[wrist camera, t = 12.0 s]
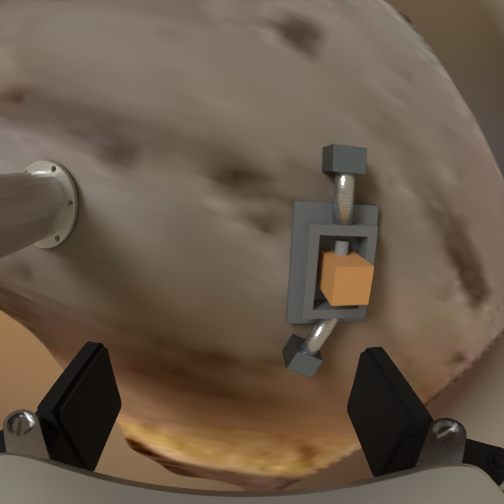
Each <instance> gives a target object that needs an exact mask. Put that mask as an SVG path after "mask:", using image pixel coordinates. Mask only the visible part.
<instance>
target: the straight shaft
mask: <svg viewBox="0 0 504 504" xmlns="http://www.w3.org/2000/svg"><path fill="white" fill-rule="evenodd" d="M366 161H367V148H362V147H354V146H345V145H336V144H333V145H329V146H326V147H323V163H322V171H326V172H335V186H334V204H333V219H332V223H333V224H337V225H345V226H350V225H352V222H353V209H354V194H355V175H356V174H366Z"/></svg>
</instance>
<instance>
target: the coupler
mask: <svg viewBox="0 0 504 504" xmlns="http://www.w3.org/2000/svg"><path fill="white" fill-rule="evenodd" d="M348 246H349V241H347V240H342V239H337V240H336V242H335V250H319V261H318V272H317V285H318V286H319V288H320V289H321V291H322V292H323V294H324V295H325V297H326V299H327V300H328V302H329V303H330V305H331V306H343V305H368V303H369V297H370V291H371V285H372V278H373V271H374V266H373V265H371V264H370V263H369V262H367V261H366V260H365V259H364V258H362V257H361V256H360V255H358V254H357V253H356V252H354V251H353V250H348Z"/></svg>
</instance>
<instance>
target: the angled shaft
mask: <svg viewBox="0 0 504 504" xmlns="http://www.w3.org/2000/svg"><path fill="white" fill-rule="evenodd" d="M339 320H340V318H330V319H318V321H317V322H316V324H315V325H314V327H313V328H312V330H311V332H310V333H309V335H308V336H307V338H306V339H303V338H301V337H298V336H296V335H292V336H291V338H290V339H289V341H288V343H287V344H286V346H285V347H284V349H283V350H282V351H283V356H284V360H285V365H286V369H288V370H291V371H294V372H297V373H300V374H303V375H306V376H309V377H312V376H313V375H314V373H315V372H316V371H317V369H318V368H319V367H320V365H321V364H322V362H323V359H322V356H321V354H320V351H319V350H320V349H321V347H322V346H323V344H324V343H325V341H326V340H327V338H328V337H329V335H330V334H331V332H332V331H333V329H334V328H335V326H336V324H337V323H338V321H339Z"/></svg>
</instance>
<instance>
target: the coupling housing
mask: <svg viewBox="0 0 504 504" xmlns="http://www.w3.org/2000/svg"><path fill="white" fill-rule="evenodd" d="M333 204H334V202H318V201H296V200H293V214H292V234H291V252H290V269H289V284H288V298H287V311H286V322H287V324H302V323H316V322H317V321H318V319H330V318H340V320H339V321H338V322H355V321H364V317H365V316H366V311H367V305H343V306H331V305H330V303H329V302H328V300H327V299H326V297H325V295H324V294H323V292H322V291H321V289H320V288H319V286H318V285H317V272H318V261H319V250H335V242H336V240H337V239H342V240H347V241H349V246H348V250H353V251H354V252H356V253H357V254H358V255H360V256H361V257H362V258H364V259H365V260H366V261H367V262H369V263H370V264H371V265H373V266H374V259H375V251H376V243H377V233H378V227H377V222H378V210H379V206H376V205H367V204H354V209H353V222H352V225H350V226H345V225H337V224H333V223H332V219H333Z"/></svg>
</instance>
